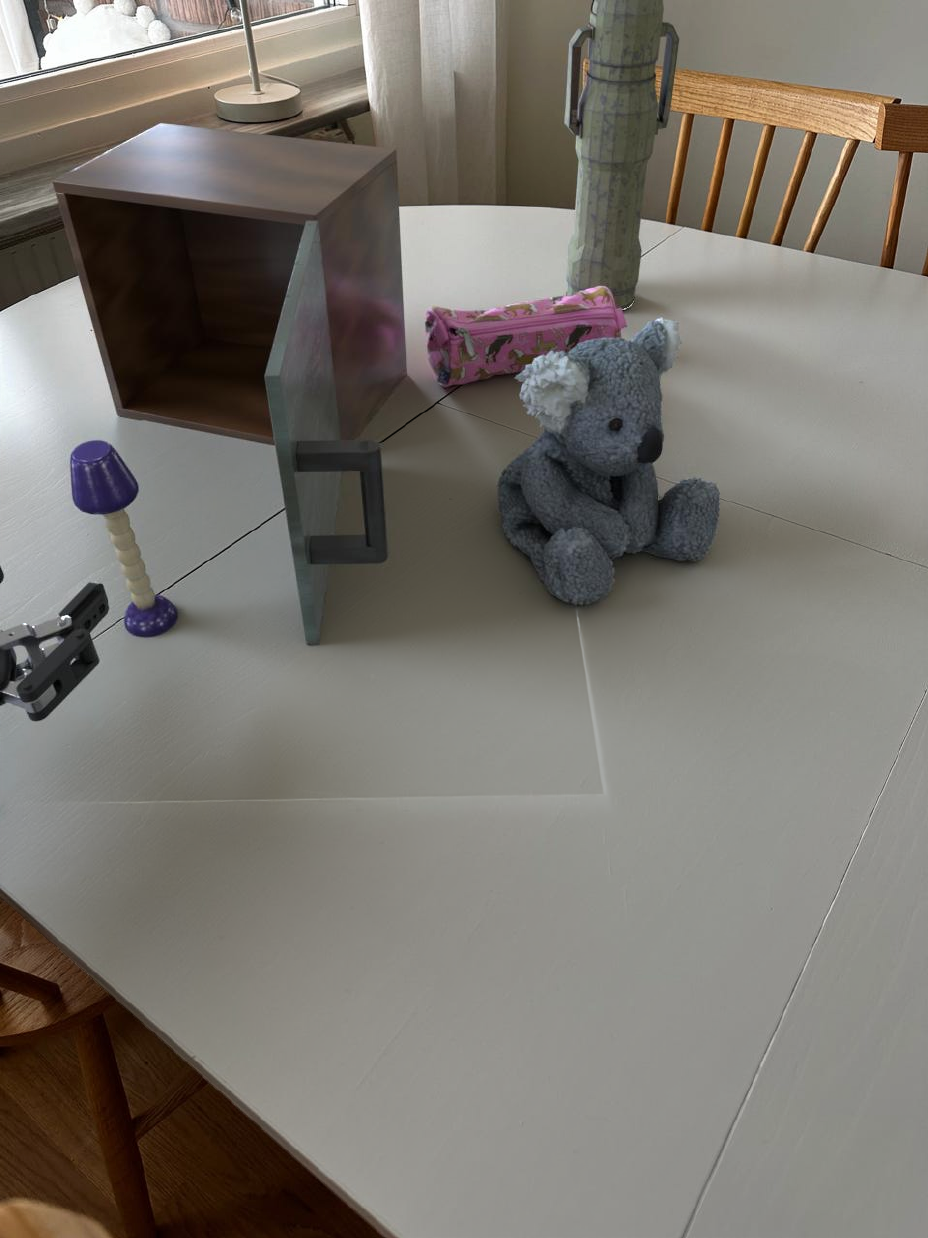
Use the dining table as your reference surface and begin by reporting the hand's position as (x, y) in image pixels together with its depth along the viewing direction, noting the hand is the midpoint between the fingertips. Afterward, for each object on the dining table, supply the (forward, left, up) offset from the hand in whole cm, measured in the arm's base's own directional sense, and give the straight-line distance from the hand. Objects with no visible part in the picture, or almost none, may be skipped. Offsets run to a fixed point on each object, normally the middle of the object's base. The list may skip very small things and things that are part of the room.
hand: (47, 578), depth 67 cm
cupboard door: (+12, +23, -11) cm, 28 cm away
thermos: (+21, +79, -11) cm, 83 cm away
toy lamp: (0, +8, -11) cm, 14 cm away
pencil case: (+17, +58, -11) cm, 61 cm away
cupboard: (-8, +44, -11) cm, 46 cm away
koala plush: (+31, +31, -11) cm, 45 cm away
